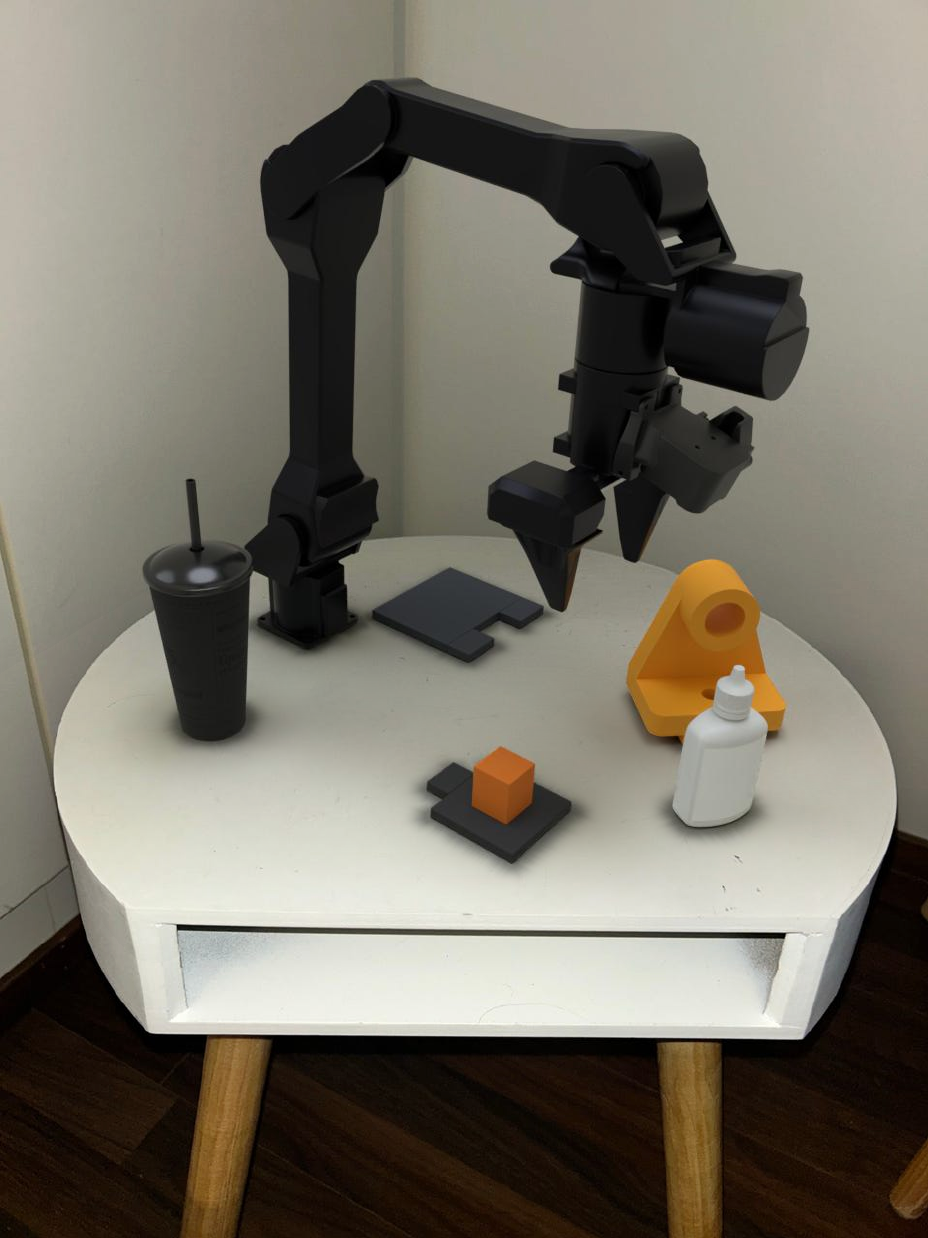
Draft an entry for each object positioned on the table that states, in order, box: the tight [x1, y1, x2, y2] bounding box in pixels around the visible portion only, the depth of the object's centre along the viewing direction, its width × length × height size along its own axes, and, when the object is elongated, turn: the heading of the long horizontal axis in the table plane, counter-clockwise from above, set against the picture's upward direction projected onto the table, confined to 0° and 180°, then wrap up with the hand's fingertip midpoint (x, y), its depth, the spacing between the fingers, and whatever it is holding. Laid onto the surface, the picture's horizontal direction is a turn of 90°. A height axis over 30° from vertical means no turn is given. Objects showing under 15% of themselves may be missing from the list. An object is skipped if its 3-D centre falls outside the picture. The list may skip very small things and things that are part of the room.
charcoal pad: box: [371, 566, 545, 663], centre depth 99 cm, size 11×11×1 cm
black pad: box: [426, 745, 572, 864], centre depth 76 cm, size 9×7×4 cm
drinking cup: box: [141, 477, 254, 742], centre depth 79 cm, size 8×8×20 cm
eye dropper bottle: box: [672, 665, 769, 828], centre depth 75 cm, size 4×6×12 cm
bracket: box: [625, 558, 787, 745], centre depth 85 cm, size 11×7×12 cm, turn 98°
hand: (596, 584), depth 75 cm, fingers open, 9 cm apart
